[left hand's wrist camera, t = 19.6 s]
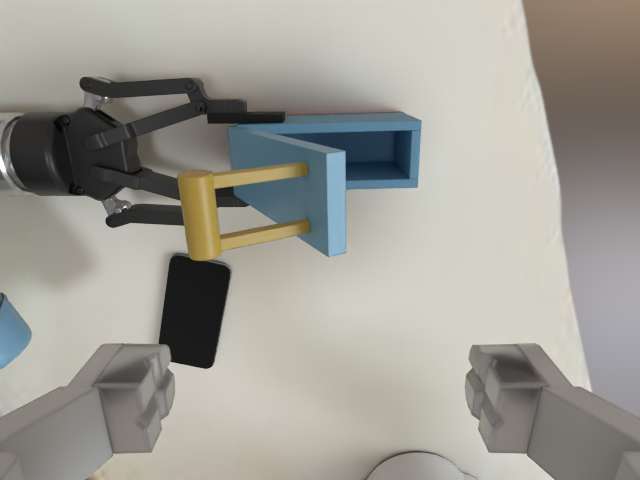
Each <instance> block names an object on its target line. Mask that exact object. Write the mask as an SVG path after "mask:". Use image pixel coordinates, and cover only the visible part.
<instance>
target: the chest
mask: <svg viewBox="0 0 640 480" xmlns="http://www.w3.org/2000/svg"><path fill="white" fill-rule="evenodd" d="M236 126H244V127H248V128H252V129H256V130H260V131H264V132H269V133H273V134H277V135H281V136H285V137H289V138H294V139H298V140H302V141H306V142H310V143H315V144H319V145H323V146H327V147H331V148H335V149H340V150H344V151H345V152H346V189H379V188H417V187H418V172H419V154H420V136H421V120H419V119H416V118H414V117H412V116H410V115H407V114H405V113H403V112H383V113H345V114H308V115H285V121H284V122H283V123H239V124H238V125H236Z"/></svg>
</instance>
